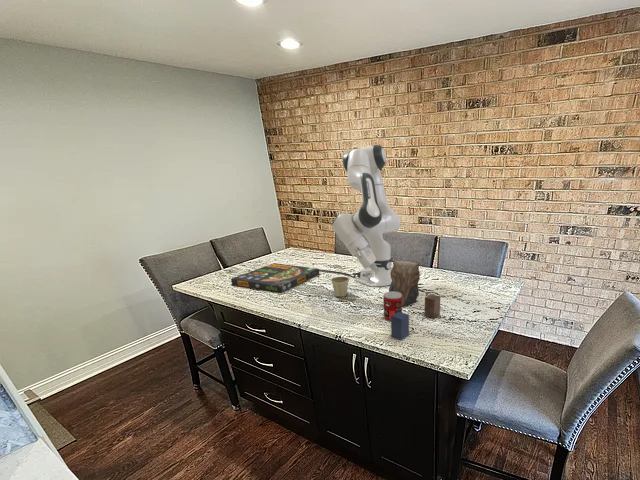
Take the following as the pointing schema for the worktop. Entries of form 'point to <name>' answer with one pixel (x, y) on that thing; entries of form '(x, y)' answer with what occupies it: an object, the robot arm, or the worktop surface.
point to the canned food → (392, 304)
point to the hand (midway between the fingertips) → (377, 272)
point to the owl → (405, 280)
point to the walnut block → (432, 306)
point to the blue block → (399, 325)
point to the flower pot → (340, 286)
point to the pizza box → (275, 277)
